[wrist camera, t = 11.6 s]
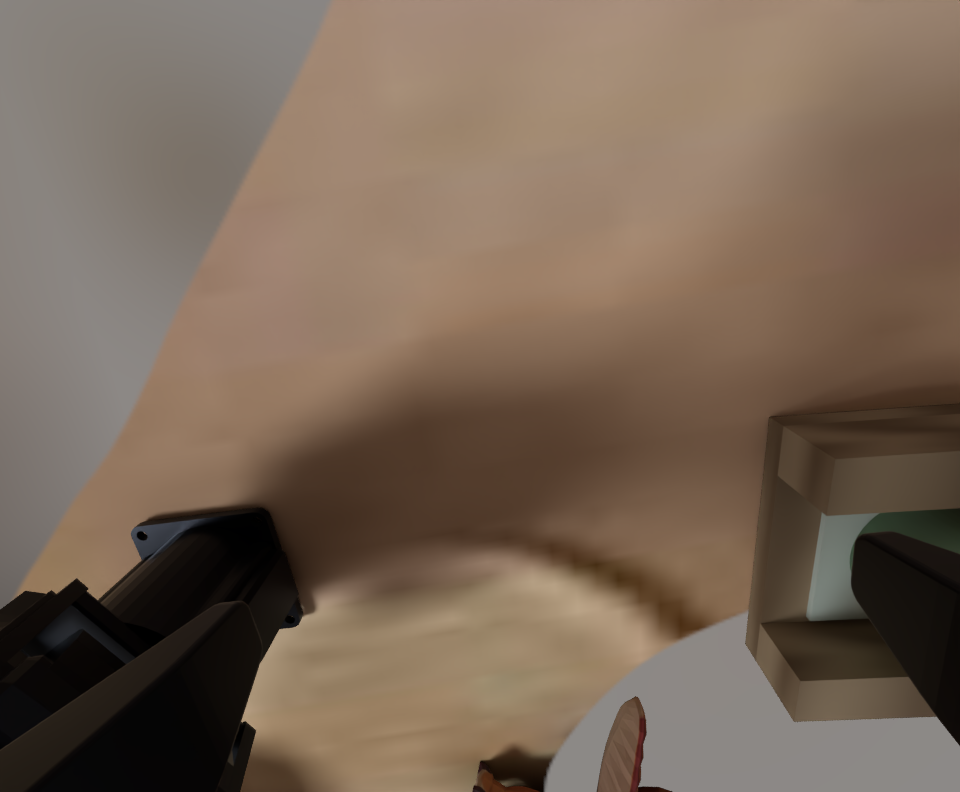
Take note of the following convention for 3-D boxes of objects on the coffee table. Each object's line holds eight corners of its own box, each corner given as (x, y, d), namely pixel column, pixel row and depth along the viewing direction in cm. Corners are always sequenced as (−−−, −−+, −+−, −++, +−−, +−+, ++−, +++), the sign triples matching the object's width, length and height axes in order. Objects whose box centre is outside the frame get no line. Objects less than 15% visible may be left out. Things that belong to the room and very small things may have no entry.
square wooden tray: (745, 643, 23) (793, 721, 20) (769, 417, 20) (835, 459, 16) (1001, 631, 23) (1103, 710, 19) (1075, 395, 19) (1221, 433, 15)
